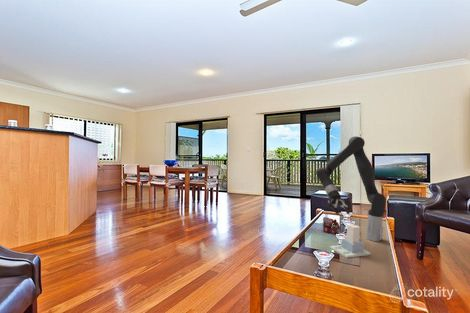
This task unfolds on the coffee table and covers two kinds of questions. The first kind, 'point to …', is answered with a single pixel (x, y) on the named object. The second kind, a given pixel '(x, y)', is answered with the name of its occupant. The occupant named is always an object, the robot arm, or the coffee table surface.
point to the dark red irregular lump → (330, 225)
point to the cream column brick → (353, 233)
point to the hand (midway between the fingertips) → (343, 213)
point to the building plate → (346, 253)
